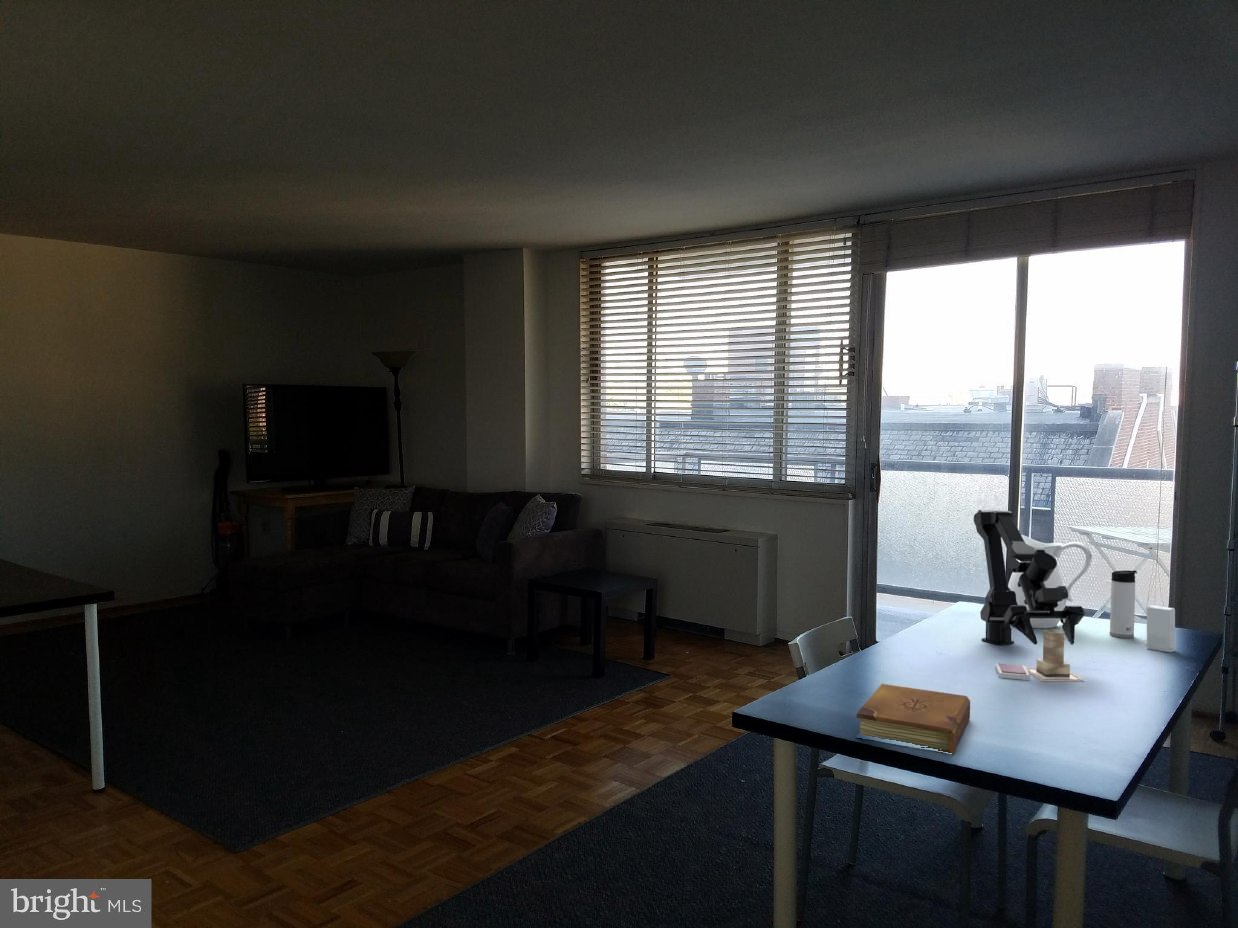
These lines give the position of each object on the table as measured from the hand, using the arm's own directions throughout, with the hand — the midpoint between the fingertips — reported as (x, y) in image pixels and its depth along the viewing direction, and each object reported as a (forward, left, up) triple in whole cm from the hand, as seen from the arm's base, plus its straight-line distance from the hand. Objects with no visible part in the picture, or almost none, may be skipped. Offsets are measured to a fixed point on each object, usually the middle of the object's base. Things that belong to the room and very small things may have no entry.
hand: (1054, 643), depth 220 cm
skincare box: (-6, +49, -8) cm, 50 cm away
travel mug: (-21, +54, -8) cm, 59 cm away
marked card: (0, 0, -8) cm, 8 cm away
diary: (+15, -60, -9) cm, 62 cm away
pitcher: (-39, +44, -8) cm, 59 cm away
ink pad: (-5, -9, -8) cm, 13 cm away
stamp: (0, 0, -8) cm, 8 cm away
